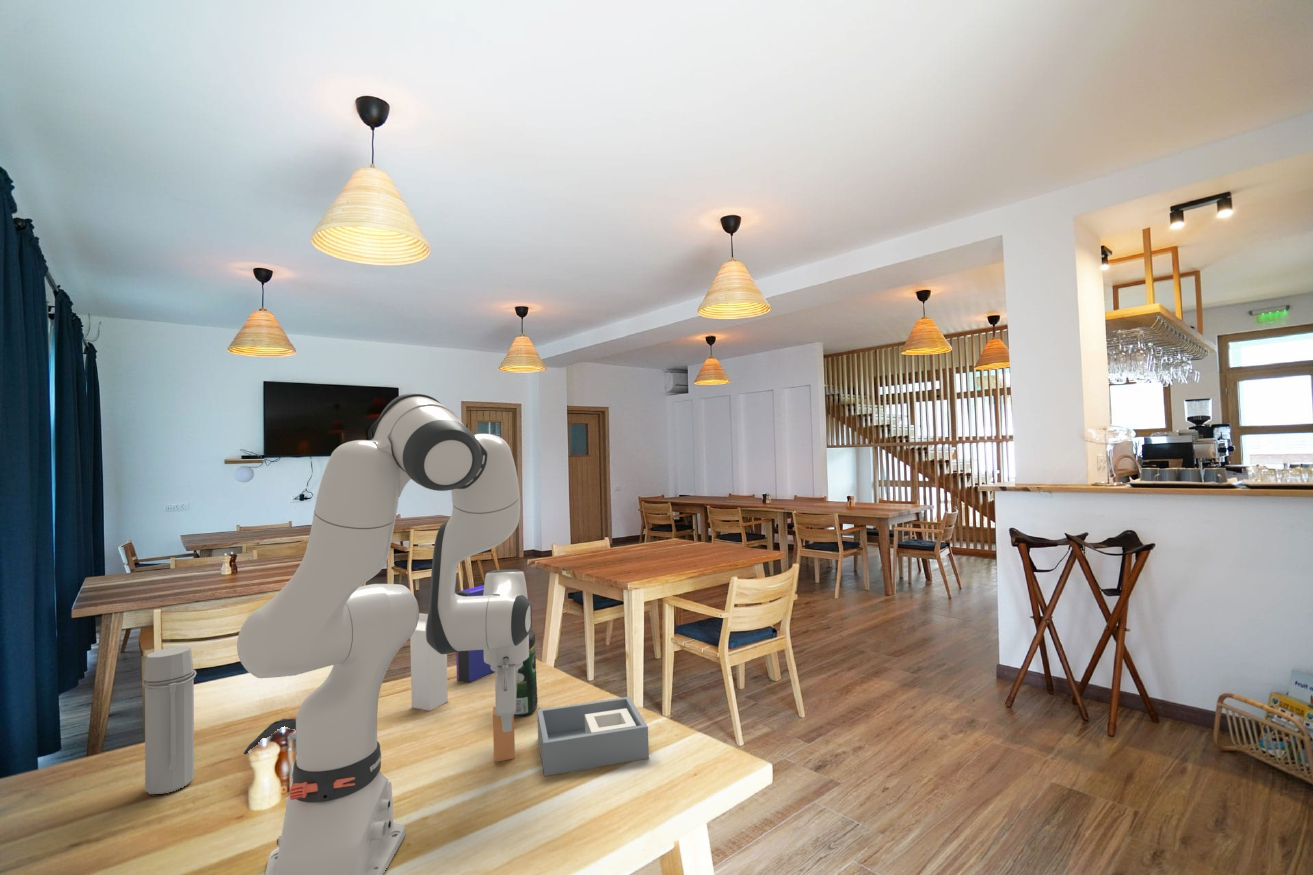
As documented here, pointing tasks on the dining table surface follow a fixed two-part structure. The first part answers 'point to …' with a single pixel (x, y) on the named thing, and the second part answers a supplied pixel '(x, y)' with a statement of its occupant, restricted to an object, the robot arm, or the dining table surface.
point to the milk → (427, 671)
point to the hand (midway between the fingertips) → (507, 719)
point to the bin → (588, 737)
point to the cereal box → (471, 652)
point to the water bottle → (169, 720)
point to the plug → (502, 739)
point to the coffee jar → (527, 682)
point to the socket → (608, 721)
